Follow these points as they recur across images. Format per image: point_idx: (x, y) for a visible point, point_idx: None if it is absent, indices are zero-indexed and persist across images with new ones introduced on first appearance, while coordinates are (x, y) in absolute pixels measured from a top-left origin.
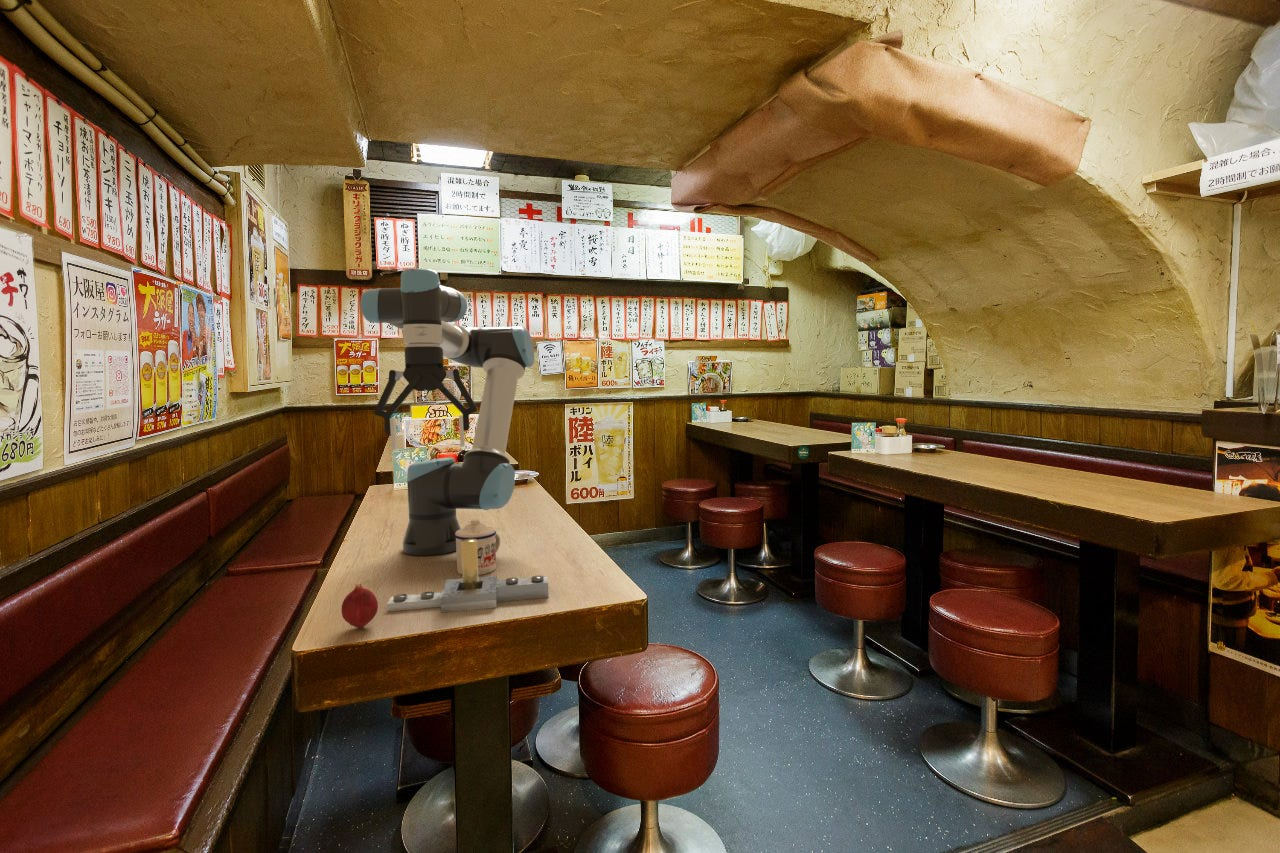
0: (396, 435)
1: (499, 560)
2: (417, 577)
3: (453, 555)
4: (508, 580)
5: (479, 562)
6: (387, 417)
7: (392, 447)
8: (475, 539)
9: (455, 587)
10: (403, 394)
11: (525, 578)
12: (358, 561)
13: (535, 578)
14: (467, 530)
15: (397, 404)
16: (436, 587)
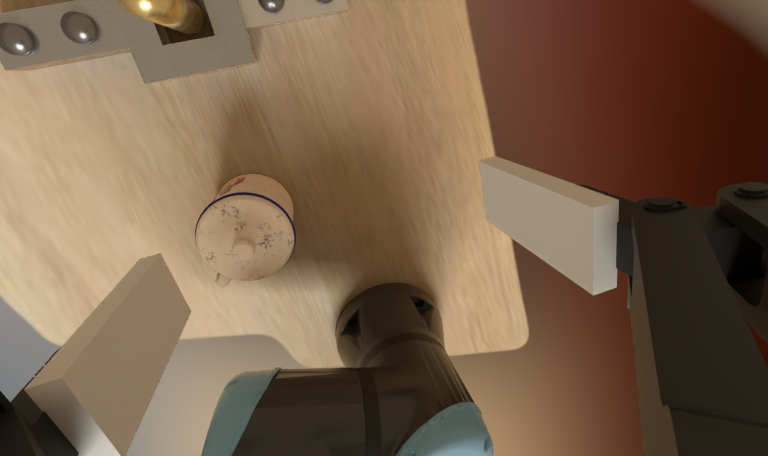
0: (519, 234)
1: None
2: (356, 166)
3: (336, 291)
4: (82, 18)
5: (231, 183)
6: (641, 202)
7: (496, 158)
8: (124, 4)
9: (209, 2)
10: (719, 377)
11: (58, 57)
12: (490, 252)
13: (13, 29)
14: (254, 218)
15: (663, 276)
16: (296, 106)
